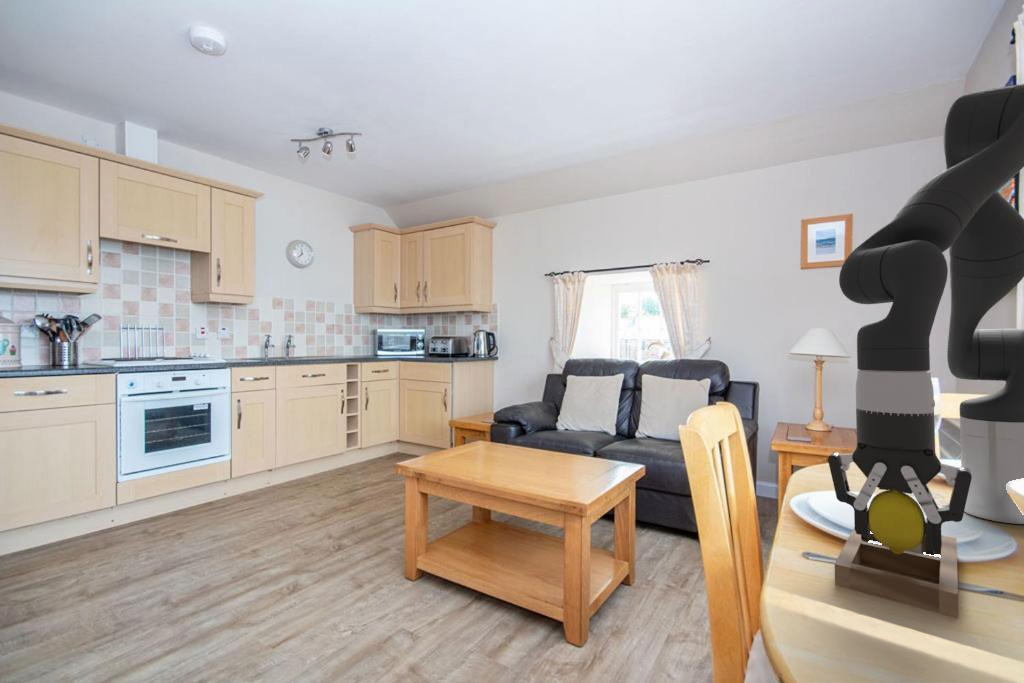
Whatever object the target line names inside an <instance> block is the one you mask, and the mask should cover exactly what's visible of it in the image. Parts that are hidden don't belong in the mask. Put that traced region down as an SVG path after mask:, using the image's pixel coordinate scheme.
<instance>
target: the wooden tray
mask: <svg viewBox="0 0 1024 683" xmlns="http://www.w3.org/2000/svg"><path fill="white" fill-rule="evenodd" d="M870 531H871V529H870ZM869 540H873V541H878V540H877V539H876V538H875V536H874V535H873V534H870V538H869ZM878 542H879V541H878ZM957 543H958V542H957V538H956V537H952V536H946V535H942V547H941V549H940V551H936V550H934V554H940V555H941V558H939V557H934V556H929V555H924V554H920V553H915V552H910V551H904V552H903V553H901V554H895V553H893V552H892V551H891V550H890V548H888V547H887V546H882V545H878V544H873V543H868V541H866V540H861V535H859V534H856V531H855V526H853V529H852V531H851V532H850V533H849V536H848V538H847V540H846V542H845V544H844V545H843V548H842V549H841V551H840V553H839V555H838V557H837V558H836V560H835V562H834V586H838V587H840V588H841V587H842V588H844V589H845V588H846V589H848V590H852V591H856V592H860V593H863V594H867V595H871V596H874V597H879V598H881V599H886V600H889V601H893V602H897V603H899V604H903V605H907V606H910V607H915V608H917V609H922V610H926V611H929V612H932V613H933V612H934V613H936V614H940V615H943V616H948V617H951V618H955V619H959V585H958V583H959V582H958V548H957V546H958V545H957ZM922 550H923V552H926V537H924V539H923V541H922Z"/></svg>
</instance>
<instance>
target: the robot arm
mask: <svg viewBox="0 0 1024 683" xmlns="http://www.w3.org/2000/svg"><path fill="white" fill-rule="evenodd" d="M943 152H944V164H945V170H943V171H942V172H940V173H938V174H937V175H935V176H933V177H932V178H930V179H929V180H928V181H926V182H925V183H923V184H922V185H921V186H920V187H919V188H917V190H916V191H915V192H914V193H912V195H911V196H910V198H908V199H907V201H906V202H905V204H904V205H903V207H902V208H901V209H900V210H899V211H898V213H897V214H896V215H895V216H894V217H893V219H892V220H891V221H890V222H889V223H887V224H886V225H884V226H883V227H882V228H880V229H878V230H877V231H876V232H875V233H873V235H871V236H870V237H868V238H866V240H864V241H863V242H862V243H861V244H859V245H858V246H857V247H855V249H854V250H853V251H851V253H850V254H849V255H848V256H847V257H846V259H845V260H844V261H843V264H842V266H841V267H840V268H841V269H840V272H839V278H838V279H839V280H838V282H839V287H840V290H841V293H842V294H843V296H844V297H846V298H847V299H848V300H850V301H851V302H854V303H856V304H858V305H859V304H860V305H876V304H887V303H888V304H889V303H892V304H891V307H890V310H889V312H888V313H887V315H886V317H884V318H882V319H881V320H878V321H875V322H872V323H867V324H865V325H863V326H861V327H860V328H859V329H858V331H857V337H856V357H857V360H856V361H857V375H856V382H855V413H856V414H855V416H856V417H855V418H856V419H855V420H856V422H855V423H856V425H855V426H856V448H855V450H854V451H853V453H840V452H837V451H834V452H832V453H831V454H830V455H829V456H828V457H827V462H828V467H829V471H830V475H831V478H832V483H833V488H834V492H835V496H836V499H837V500H838V501H839V502H840V503H845V504H847V505H849V506H850V507H852V508H853V512H854V527H855V531H856V534H859V535H861V540H866V541H869V538H870V527H869V523H868V510H869V507H868V503H869V502H870V500H871V498H872V497H873V494H874V493H875V491H876V489H877V488H878V490H883V491H888V490H897V491H900V492H903V493H905V494H908V495H909V494H910V495H912V494H913V496H914V497H915V499H916V502H917V503H918V504H919V506H920V508H921V509H922V512H923V514H924V515H925V516H926V517H925V537H926V554H931V555H934V550H936V551H940V549H941V547H942V536H943V535H942V525H943V524H944V523H946V522H955V523H959V522H961V521H962V520H963V517H964V514H965V513H966V514H968V515H971V516H974V517H977V518H981V519H984V520H989V521H994V522H999V523H1005V524H1015V525H1024V515H1022V513H1021V512H1020V510H1019V509H1018V507H1017V506H1016V504H1015V503H1014V502H1013V500H1012V499H1011V498H1010V496H1009V495H1008V493H1007V490H1006V484H1007V483H1008V482H1009V481H1012V480H1016V479H1021V478H1024V329H1022V328H991V329H990V328H985V329H983V328H981V329H977V327H978V326H979V323H980V322H981V321H982V319H983V318H984V316H985V315H986V314H987V313H988V312H989V311H990V310H991V309H992V308H993V307H995V305H996V304H998V303H999V302H1000V301H1001V300H1003V299H1004V298H1005V296H1007V295H1008V294H1009V293H1010V292H1011V291H1012V290H1014V288H1015V287H1017V285H1018V284H1019V283H1020V282H1021V281H1022V280H1023V279H1024V217H1023V216H1022V215H1021V214H1020V213H1019V212H1018V210H1017V209H1016V208H1014V206H1012V204H1010V202H1009V201H1008V200H1007V199H1006V198H1005V197H1004V196H1003V195H1002V194H1001V193H1000V192H999V191H998V190H999V189H1000V188H1001V187H1003V186H1004V185H1005V184H1006V183H1008V182H1009V181H1010V180H1011V179H1012V178H1013V177H1015V176H1016V175H1017V174H1018V173H1019V172H1020V171H1021V170H1022V169H1023V168H1024V83H1021V84H1013V85H1007V86H1002V87H997V88H996V87H995V88H988V89H984V90H978V91H974V92H967V93H965V94H962V95H960V96H958V97H957V98H956V99H955V100H954V101H953V102H952V103H951V105H950V107H949V108H948V111H947V113H946V117H945V121H944V125H943ZM947 250H948V262H947V259H946V257H945V254H944V252H945V251H947ZM948 269H949V270H948ZM948 273H949V284H950V285H949V286H950V287H949V288H950V289H949V290H950V316H949V326H948V329H949V330H948V336H947V337H948V340H947V351H946V352H947V353H946V354H947V355H946V356H947V357H946V358H947V359H946V360H947V365H948V369H949V371H950V373H951V375H952V376H954V377H955V378H956V379H962V380H967V381H968V380H969V381H1001V382H1002V381H1005V385H1004V386H1003V387H1002V388H1001V389H999V390H997V391H994V392H992V393H989V394H987V395H983V396H979V397H974V398H969V399H965V400H963V401H961V402H960V404H959V429H960V430H959V432H960V435H959V436H960V465H961V466H960V467H957V466H953V465H949V464H945V463H942V462H941V461H940V459H939V458H938V456H937V453H936V436H935V435H936V434H935V433H936V432H935V430H936V428H935V427H936V426H935V406H936V401H935V398H934V395H935V394H934V386H933V381H932V376H931V364H930V363H931V360H930V359H931V357H930V337H931V334H932V330H933V327H934V326H933V325H934V323H935V319H936V316H937V312H938V309H939V305H940V302H941V300H942V297H943V295H944V294H943V293H944V292H945V288H946V284H947V281H948V280H947V279H948ZM851 463H854V464H855V466H856V467H857V468H858V469H859V470H860V472H862V474H863V475H864V476H865V478H866V480H865V482H864V484H863V486H862V487H861V489H860V491H859V493H858V494H856V493H854V492H851V489H850V485H849V481H848V476H847V471H848V470H850V468H851ZM939 473H941V474H943V476H944V477H945V481H946V483H947V485H948V486H949V485H950V486H952V491H951V495H950V499H949V504H948V507H939V506H938V504H937V502H936V501H935V499H934V497H933V493H932V492H931V489H930V488H929V486H928V484H929V483H930V482H931V481H932V480H933V479H934V478H935V477H936V476H937V475H938V474H939Z"/></svg>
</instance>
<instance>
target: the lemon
mask: <svg viewBox="0 0 1024 683" xmlns="http://www.w3.org/2000/svg"><path fill="white" fill-rule="evenodd" d="M868 508H869V510H868V523H869V527H870V529H871V532H872V533H873V535H874V536H875V538H876V539H877V540H878V541H879V542H880V543H882V544H883V545H885V546H887V547H888V548H890V550H891V551H892V552H893V553H895V554H901V553H903V552H904V551H907V550H912V549H914V548H916V547H918V546H919V545H920V544H921V543H922V541H923V539H924V537H925V520H926V517H925V513H924V511H923V509H922V507H921V505H920V504H919V503H918V501H917V500H915V499H914V497H911V495H909V494H908V493H903V492H900V491H897V490H883V491H881V492H879V493H877V494H876V495H874V496H873V498H872V499H871V502H870V503H869V506H868Z"/></svg>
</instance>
